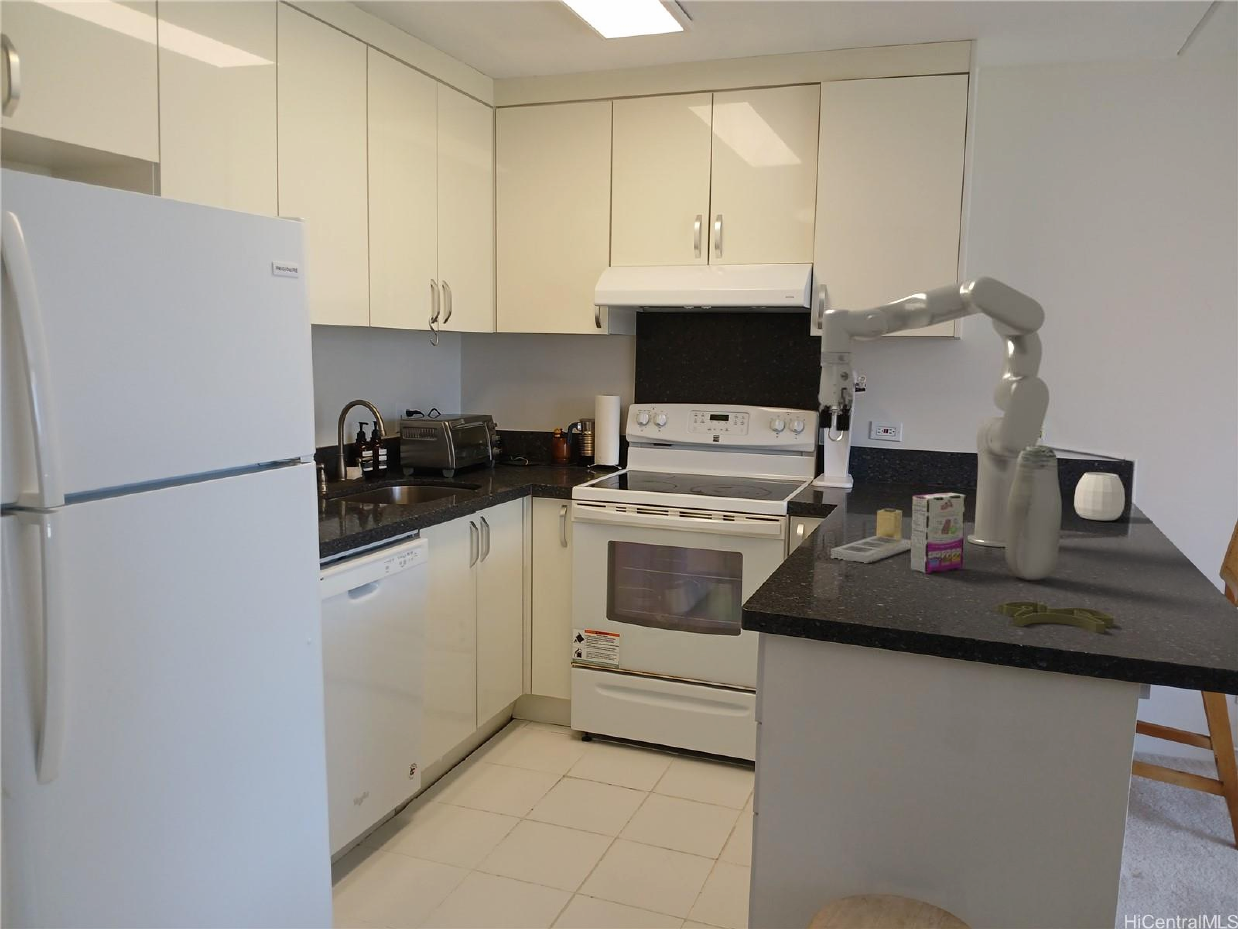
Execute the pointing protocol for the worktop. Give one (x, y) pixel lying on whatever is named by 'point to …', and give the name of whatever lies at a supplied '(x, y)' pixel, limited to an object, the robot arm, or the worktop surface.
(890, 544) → the white rectangular frame
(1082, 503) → the white faceted vase
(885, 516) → the tan hollow block
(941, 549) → the candy bar box
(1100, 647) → the worktop surface
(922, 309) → the robot arm
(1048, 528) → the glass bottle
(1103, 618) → the cookie cutter
